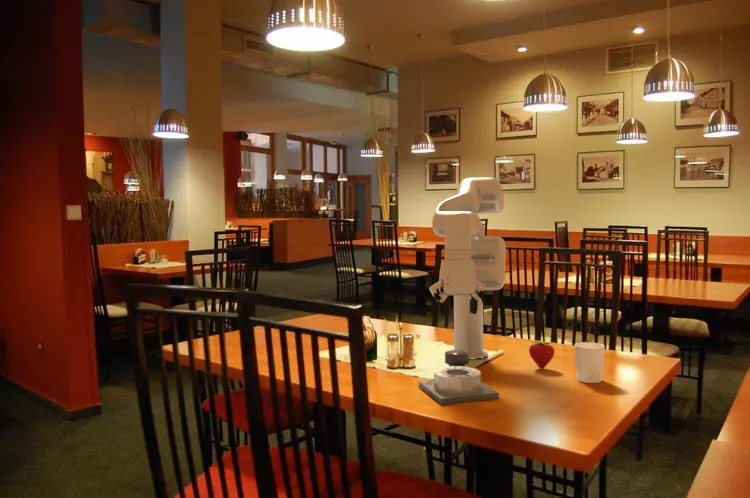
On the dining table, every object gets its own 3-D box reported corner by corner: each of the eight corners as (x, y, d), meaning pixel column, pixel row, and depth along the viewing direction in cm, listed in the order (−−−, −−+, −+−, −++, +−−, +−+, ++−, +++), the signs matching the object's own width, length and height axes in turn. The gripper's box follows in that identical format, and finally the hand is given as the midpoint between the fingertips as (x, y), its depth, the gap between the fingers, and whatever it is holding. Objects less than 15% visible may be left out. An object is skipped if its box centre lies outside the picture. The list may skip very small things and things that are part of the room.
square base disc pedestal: (418, 386, 164) (418, 367, 163) (472, 381, 168) (471, 362, 168) (441, 404, 148) (441, 383, 148) (499, 398, 153) (499, 377, 153)
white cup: (569, 380, 168) (570, 345, 168) (581, 374, 174) (582, 340, 173) (597, 385, 163) (597, 349, 162) (608, 379, 169) (609, 344, 168)
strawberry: (529, 365, 185) (529, 333, 185) (554, 366, 183) (555, 334, 182) (527, 369, 180) (528, 337, 179) (553, 371, 177) (554, 338, 176)
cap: (441, 374, 176) (441, 351, 175) (462, 372, 178) (462, 349, 177) (450, 380, 169) (450, 356, 169) (472, 378, 171) (472, 354, 171)
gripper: (479, 253, 177) (479, 310, 178) (424, 255, 172) (425, 314, 173) (491, 255, 170) (491, 314, 171) (435, 257, 165) (435, 318, 166)
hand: (458, 314), depth 172 cm, fingers open, 9 cm apart
